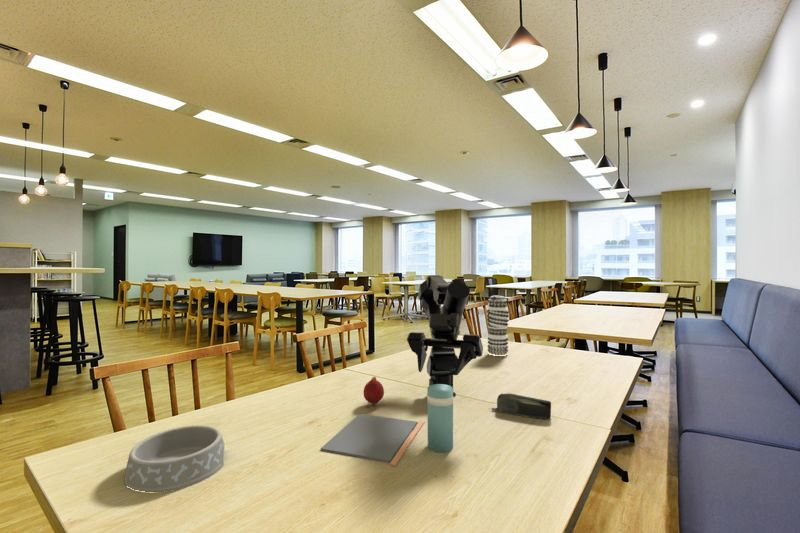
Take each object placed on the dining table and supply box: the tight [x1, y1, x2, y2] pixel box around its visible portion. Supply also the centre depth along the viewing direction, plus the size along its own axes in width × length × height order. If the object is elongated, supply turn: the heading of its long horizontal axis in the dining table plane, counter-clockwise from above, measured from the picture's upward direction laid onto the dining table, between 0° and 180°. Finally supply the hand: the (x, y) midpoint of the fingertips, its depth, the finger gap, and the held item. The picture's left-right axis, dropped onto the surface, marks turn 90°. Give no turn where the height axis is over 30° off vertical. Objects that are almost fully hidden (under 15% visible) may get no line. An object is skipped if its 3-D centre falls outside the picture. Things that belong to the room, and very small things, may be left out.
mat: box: [320, 413, 419, 463], centre depth 93 cm, size 16×20×1 cm
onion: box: [363, 376, 385, 406], centre depth 112 cm, size 6×6×8 cm
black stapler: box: [491, 392, 552, 421], centre depth 105 cm, size 5×3×15 cm
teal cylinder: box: [426, 384, 454, 454], centre depth 87 cm, size 6×6×13 cm
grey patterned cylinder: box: [486, 295, 509, 355], centre depth 169 cm, size 9×9×25 cm
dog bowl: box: [124, 424, 225, 493], centre depth 79 cm, size 17×18×5 cm
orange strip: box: [389, 420, 425, 467], centre depth 90 cm, size 22×1×1 cm, turn 161°
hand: (437, 372), depth 95 cm, fingers open, 9 cm apart
